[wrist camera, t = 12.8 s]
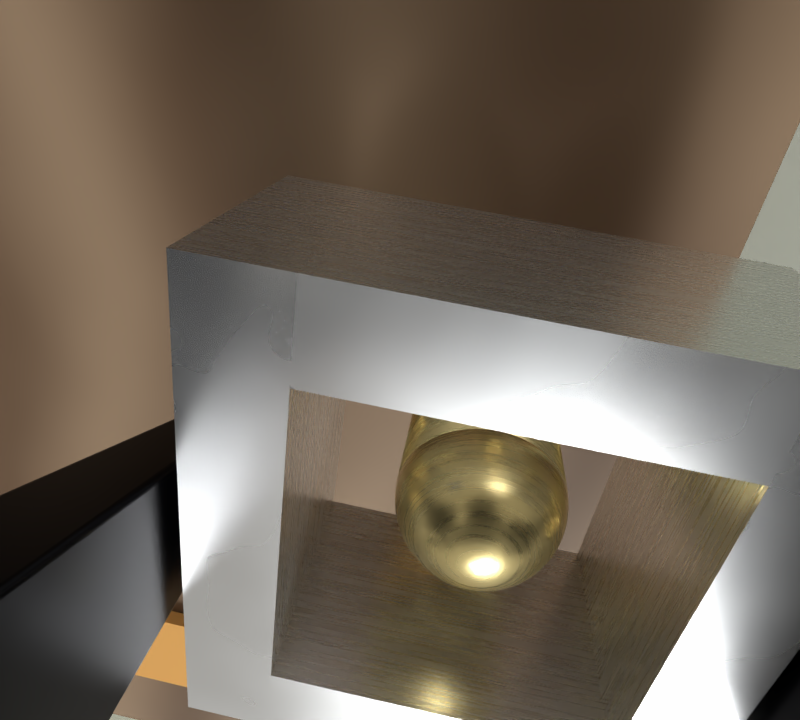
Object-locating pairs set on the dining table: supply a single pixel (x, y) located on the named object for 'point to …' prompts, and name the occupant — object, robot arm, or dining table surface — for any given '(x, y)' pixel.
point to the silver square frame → (492, 409)
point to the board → (344, 174)
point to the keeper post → (480, 503)
